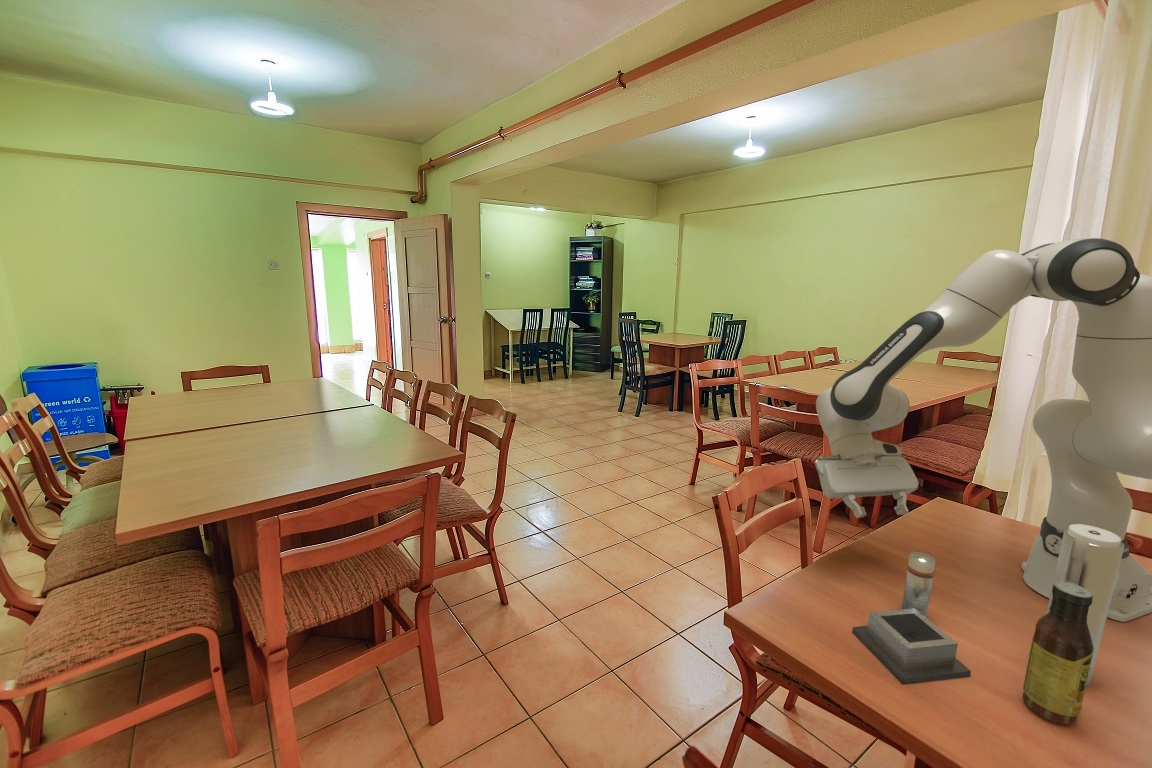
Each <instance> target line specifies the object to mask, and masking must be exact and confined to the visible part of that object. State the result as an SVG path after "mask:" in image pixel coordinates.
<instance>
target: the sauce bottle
mask: <svg viewBox="0 0 1152 768" xmlns="http://www.w3.org/2000/svg"><path fill="white" fill-rule="evenodd" d="M1052 594H1053V599H1052V604H1051V606H1050V608H1049V609H1050V612H1049V613H1047V614H1046V613H1045V614H1044V615H1042V616H1041V617H1040V618H1038V619H1037V621H1036V623H1035V629H1034V634H1033V636H1032V638H1031V644H1030V649H1029V653H1028V659H1027V664H1026V670H1025V675H1024V680H1023V687H1022V690H1023V692H1022V699H1023V702H1024V703H1025V705H1026V706H1027V707H1028V708H1029V709H1030V710H1031V711H1032V712H1033V713H1035V714H1036V715H1038V716H1039V717H1042V718H1043V719H1045V720H1048V721H1050V722H1052V723H1056V724H1059V725H1063V726H1065V725H1067V726H1069V725H1073V724H1074V723H1076V721H1077V720H1078V716H1079V715H1080V714H1081V710H1082V706H1083V701H1084V696H1085V693H1086V692H1085V691H1086V688H1087V686H1086V684H1087V679H1088V675H1089V670H1090V665H1091V660H1092V657H1093V651H1094V647H1093V644H1092V640H1091V636H1090V632H1089V628H1088V625H1087V615H1088V610H1089V606H1090V605H1091V604H1092V599H1093V594H1092V593H1091V592H1090V591H1088V590H1087V589H1085V588H1083V587H1081V586H1078V585H1076V584H1072V583H1068V582H1060V581H1059V582H1055V583H1054V585H1053V589H1052Z"/></svg>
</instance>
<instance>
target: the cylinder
mask: <svg viewBox="0 0 1152 768" xmlns="http://www.w3.org/2000/svg"><path fill="white" fill-rule="evenodd" d="M936 562H937V560H936V558H934V556H932V555H930V554H928V553H925V552H922V551H921V552H920V551H911V552H910V553H909V558H908V562H907V565H906V566H907V568H906V569H907V571H906V577H905V583H904V590H903V597H902V603H901V609H912V608H915V609H916V610H917V611H919V612H920V613H921V614H922V615H923V616H925V617H926V618H928V617H927V616H928V610H929V605H930V599H931V598H930V597H931V592H932V586H933V580H934V577H935V572H936V569H935V568H936Z"/></svg>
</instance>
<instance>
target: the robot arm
mask: <svg viewBox="0 0 1152 768" xmlns="http://www.w3.org/2000/svg"><path fill="white" fill-rule="evenodd" d="M1028 297H1034V298H1040V299H1046V300H1050V301H1056V302H1067V301H1071V302H1072V303H1073V305H1074V306H1075V308H1076V310H1077V315H1078V322H1077V327H1076V334H1075V335H1076V336H1075V341H1074V351H1073V360H1072V367H1071V372H1072V373H1071V374H1072V376H1073V378H1074V380H1075V381H1076V382H1077V383H1078V384H1079V386H1080V387H1082V389H1083V390H1084V393H1085V394H1086V397H1087V399H1088V400H1085V399H1073V398H1058V399H1057V398H1056V399H1052V400H1050V401H1047V402H1046V403H1044V404H1042V405H1041V406H1040V407H1039V408H1038V409H1037V411H1036V412H1035V414H1034V416H1033V419H1032V426H1033V430H1034V432H1035V433H1036V435H1037V437H1038V438H1039V440H1041V442H1042V444H1043V447H1044V449H1045V452H1046V455H1047V459H1048V464H1049V468H1050V474H1051V490H1050V496H1049V500H1048V501H1049V502H1048V508H1047V513H1046V516H1045V517H1043V519H1042V522H1041V523H1040V531H1039V536H1036V537H1035V539H1034V541H1033V544H1032V546H1031V550H1030V553H1029V555H1028V558H1027V561H1023V562H1022V563H1021V565H1020V567H1021V569H1022V570H1023V571H1024V572H1023V575H1022V579H1023V581H1024V582H1025V584H1026V585H1028V586H1029V588H1031V589H1032V590H1033V591H1035V592H1036V593H1038V594H1040V595H1042V596H1044V597H1045V598H1048V599H1049V598H1050V594H1051V589H1052V585H1053V580H1054V575H1055V571H1056V566H1057V562H1058V557H1059V553H1060V548H1061V543H1062V539H1063V534H1064V530H1065V529H1067V528H1069V526H1070V525H1072V524H1083V525H1089V526H1094V527H1098V528H1101V529H1104V530H1107V531H1110V532H1112V533H1114V534H1116V535H1117V536H1119V537H1120V538H1121V542H1122V543H1123V544H1124V550H1123V554H1122V558H1121V562H1120V566H1119V570H1118V574H1117V578H1116V582H1115V586H1114V591H1113V595H1112V599H1111V603H1110V607H1109V611H1108V615H1107V618H1108V619H1112V620H1115V621H1118V622H1122V623H1123V622H1124V623H1125V622H1129V621H1132V620H1134V619H1135V620H1136V619H1137V618H1140V617H1142V616H1145V615H1148V614H1151V613H1152V573H1151V572H1150V571H1149V569H1147V568H1146V567H1145V566H1143V565H1142V564H1141V563H1140V562H1139V561H1138V560H1136V558H1134V557H1133V556H1132V555H1131V554H1130V549H1129V546H1131V548H1134V549H1140V548H1141V547H1142V546H1143V544H1144V541H1143V538H1140V537H1135V536H1133V535H1131V534H1127V529H1128V526H1129V521H1130V517H1131V514H1132V510H1133V503H1134V502H1133V499H1132V497H1131V496H1132V495H1131V494H1130V493H1129V491H1128V490H1127V489H1126V488H1125V486H1123V483H1122V482H1121V481H1120V480H1121V479H1120V478H1119V476H1118V473H1119V474H1122V475H1126V476H1131V477H1134V478H1139V479H1147V480H1152V275H1150V274H1149V275H1147V274H1144V273H1140V271H1139V270H1138V269H1137V267H1136V266H1135V262H1134V259H1133V257H1132V255H1131V253H1130V252H1129V251H1128V249H1127V248H1125V246H1123V245H1121V244H1119V243H1118V242H1115V241H1114V240H1110V239H1105V238H1098V237H1097V238H1071V239H1064V240H1061V241H1058V242H1051V243H1045V244H1042V245H1039V246H1037V247H1034V248H1032V249H1030V250H1027V251H1026V252H1023V253H1019V252H1016V251H1013V250H1011V249H1000V248H998V249H993V250H988V251H987V252H984V253H983V254H982V255H980V256H979V257H977V259H976V260H974V261H973V262H972V263H971V264H970V265H968V266H967V267H966V268H965V269H964V270H962V272H960V273H959V274H958V275H957V276H956V277H955V278H954V279H953V280H952V281H950V283H949V284H948V286H946V287H945V289H944V290H943V291H942V292H941V293H940V294H939V295H938V296H937V297H936V298H935V299H934V300H933V301H932V302H931V303H930V304H929V305H928V306H927V307H925V308H924V309H923V310H921V311H920V312H919V313H916V314H915V315H913V316H912V317H910V318H909V319H907V321H905V322H904V323H903V324H901V326H900V327H898V328H897V329H896V330H895V331H894V332H893V333H892V334H890V336H889V337H888V338H887V339H886V340H885V341H883V342H882V343H881V344H880V345H879V346H878V347H877V348H876V349H875V350H874V351H873V352H872V353H871V354H870V355H869V356H868V357H867V358H866V359H864V360H863V361H862V362H860V363H859V364H858V365H857V366H855V367H854V368H852V369H850V370H848V371H847V372H845V373H844V374H842V375H841V376H839V377H838V378H837V379H836V381H835V382H834V383H833V385H832V386H831V387H828V388H827V389H825V390H823V391H822V392H821V393H820V394H819V395H818V396H817V398H816V400H815V401H816V402H815V409H816V414H817V418H818V420H819V423H820V425H821V429H822V431H823V433H824V434H825V435H826V437H827V438H828V442H829V443H828V444H829V448H830V451H831V455H820V456H818V457H817V458H816V459H815V461H814V466H815V468H816V471H817V473H818V477H819V482H820V487H821V490H822V493H823V494H824V496H825V497H826V498H828V499H832V500H833V499H842V500H843V503H844V504H845V505H846V506H847V507H848V508H849V509H850V510H852V512H853V515H854V517H855V518H857V519H859V518H864V517H866V516H867V512H866V509H865V506H860V505H859V503H858V502H856V498H859V497H860V498H861V497H876V496H877V497H880V496H892V497H893V499H894V500H897V501H896V502H897V503H896V506H894V507H893V509H894V511H895V513H896V515H897V516H902V515H903V516H905V515H907V514H909V509H908V507H907V496H908V495H909V494H911V493H913V492H915V491H916V490H918V488H919V480H918V479H917V477H916V475H915V472H914V471H913V468H912V467H911V465H910V464H909V462H908V461H907V459H905V458H904V457H902V456H900V455H902V454H903V452H902V449H901V447H900V446H899V445H896V444H892V443H887V442H884V441H881V440H878V439H875V438H873V435H872V433H874V432H879V431H883V430H886V429H890V428H893V427H896V426H898V425H901V423H903V422H904V421H905V420H906V418H907V416H908V415H909V413H910V400H909V398H908V397H907V394H906V393H905V392H904V391H902V390H901V389H898V388H897V387H895V386H894V385H891V384H890V382H891V381H892V380H894V378H896V377H897V376H898V374H900V373H902V371H903V370H904V369H905V368H906V367H908V365H910V364H911V363H912V362H913V361H914V360H915V359H917V357H919V356H920V355H922V354H923V353H926V352H927V351H931V350H934V349H939V348H946V347H947V348H948V347H949V348H950V347H952V348H953V347H954V348H955V347H956V348H957V347H963V346H968V345H971V344H972V345H973V344H974V343H975V342H977V341H979V340H980V339H982V337H984V336H985V335H986V334H987V333H989V332H990V331H991V330H993V328H994V327H995V326H996V325H997V324H999V322H1000V321H1001V320H1002V319H1003V318H1004V317H1005V316H1006V314H1008V312H1009V311H1010V310H1011V309H1012V308H1013V307H1014V306H1015V305H1016V304H1018V303H1019V302H1021V301H1022V300H1024V299H1026V298H1028ZM1126 534H1127V535H1126Z"/></svg>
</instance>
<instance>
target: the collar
mask: <svg viewBox="0 0 1152 768" xmlns="http://www.w3.org/2000/svg"><path fill="white" fill-rule="evenodd" d="M867 619H868V620H867V625H859V626H853V627H852V633H853V634H854V636H855V637H857V639H859V641H861V643H863V645H864V646H865V647H866V648H867V649H868V650H869V651H870V652H871V653H872V654H873V655H874V656H875V657H876V658H877V659H878V660H879V661H880V662H881V663H882V664H883V665H884V666H885V668H887V670H889V672H890V673H892V675H894V677H895V678H896V679H897V680H898V681H899V682H900V683H901V684H902V685H906V684H916V683H923V682H924V683H925V682H933V681H940V680H941V681H942V680H950V679H957V678H967V677H970V676H971V673H972V670H971V669H970V668H969V667H967V666H966V665H965V664H963V663H962V662H961V660H959V659H958V658H957V656H956V655H957V651H958V645H959V644H958V642H956V640H955V639H953V638H952V637H951V636H949V635H948V634H947V633H946V632H945V631H943V630H942V629H941V628H940V627H938V626H937V625H936V624H934V622H932V621H931V620H930V619H928V617H925V616H923V615H922V614H921V613H920V612H919V611H917V610H916V609H915V608H912V609H902V608H901V609H893V610H882V611H872V612H871V611H870V612H869V613H868V618H867Z"/></svg>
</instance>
